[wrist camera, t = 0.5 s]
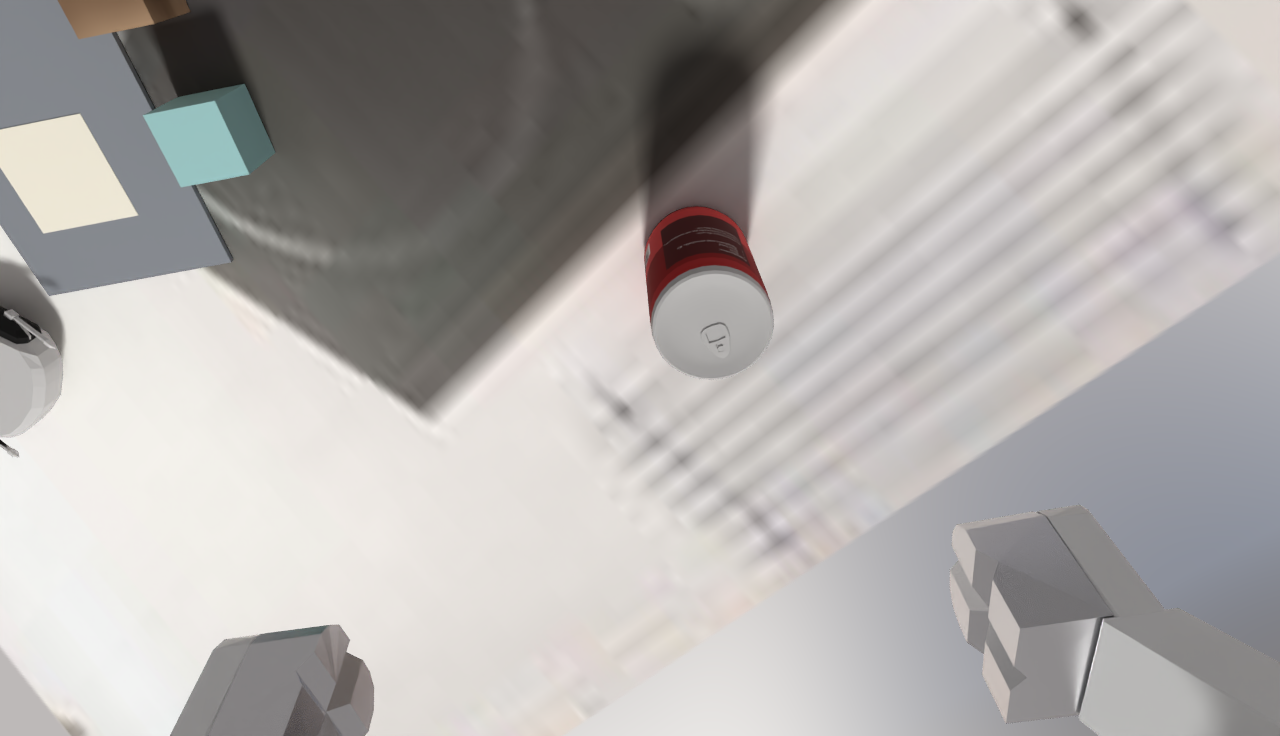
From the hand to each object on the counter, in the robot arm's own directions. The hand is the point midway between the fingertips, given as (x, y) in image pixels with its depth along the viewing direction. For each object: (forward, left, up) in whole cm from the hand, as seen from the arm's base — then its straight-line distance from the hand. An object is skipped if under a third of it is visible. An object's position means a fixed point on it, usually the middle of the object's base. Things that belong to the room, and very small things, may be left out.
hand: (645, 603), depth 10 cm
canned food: (+16, +3, -45) cm, 48 cm away
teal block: (+1, -26, -45) cm, 52 cm away
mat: (0, -37, -45) cm, 58 cm away
